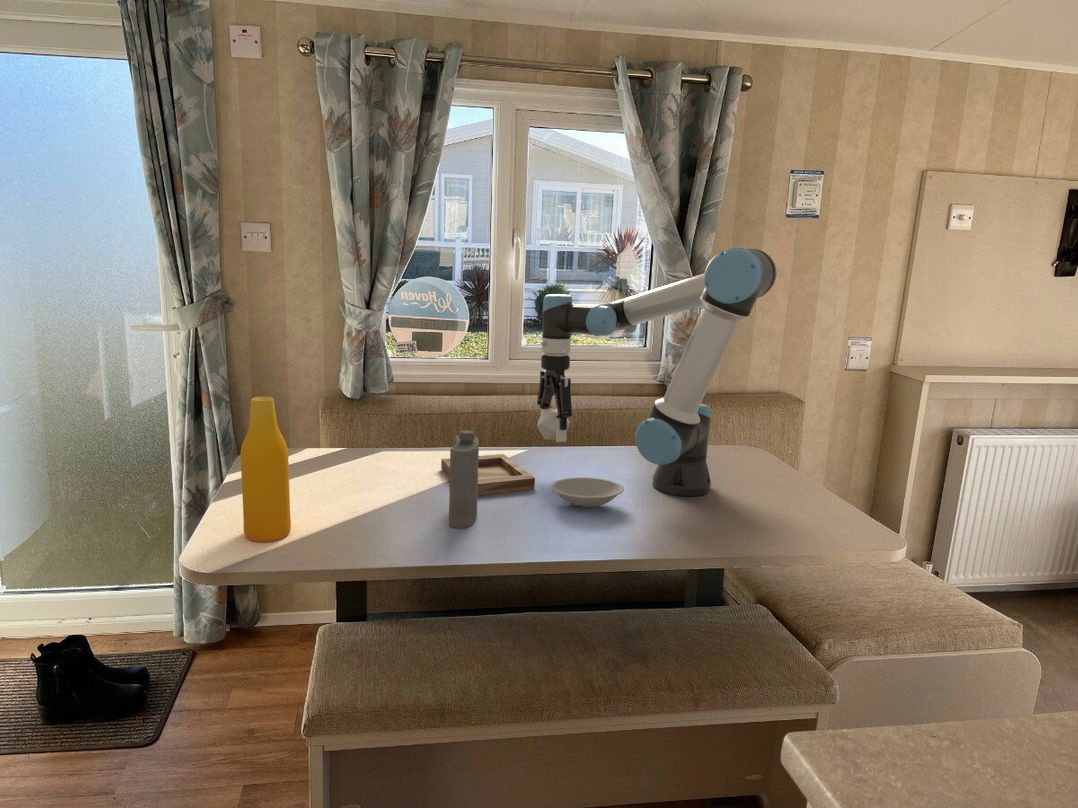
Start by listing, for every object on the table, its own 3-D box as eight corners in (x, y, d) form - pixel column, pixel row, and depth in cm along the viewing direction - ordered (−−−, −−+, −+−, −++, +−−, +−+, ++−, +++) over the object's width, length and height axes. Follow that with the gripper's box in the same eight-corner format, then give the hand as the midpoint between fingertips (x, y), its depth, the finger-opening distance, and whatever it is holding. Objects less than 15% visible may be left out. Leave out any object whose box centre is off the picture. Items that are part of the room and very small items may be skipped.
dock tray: (534, 489, 189) (535, 478, 188) (467, 496, 182) (467, 484, 181) (502, 464, 209) (503, 453, 208) (441, 469, 201) (441, 459, 201)
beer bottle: (276, 545, 149) (271, 405, 143) (234, 540, 151) (227, 401, 144) (299, 528, 158) (295, 395, 152) (259, 523, 160) (253, 392, 153)
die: (562, 446, 194) (579, 414, 196) (533, 429, 193) (551, 398, 195) (555, 449, 202) (571, 418, 204) (528, 433, 201) (545, 403, 203)
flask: (474, 529, 162) (476, 441, 157) (447, 528, 162) (449, 440, 157) (478, 505, 176) (481, 423, 172) (454, 504, 176) (456, 422, 172)
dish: (613, 495, 187) (615, 476, 186) (629, 516, 173) (631, 496, 172) (545, 496, 184) (546, 477, 183) (555, 518, 170) (557, 497, 169)
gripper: (526, 348, 202) (524, 428, 207) (561, 360, 183) (558, 448, 188) (550, 347, 206) (548, 426, 210) (588, 359, 186) (584, 445, 191)
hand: (553, 436), depth 199 cm, fingers closed on die, 9 cm apart
